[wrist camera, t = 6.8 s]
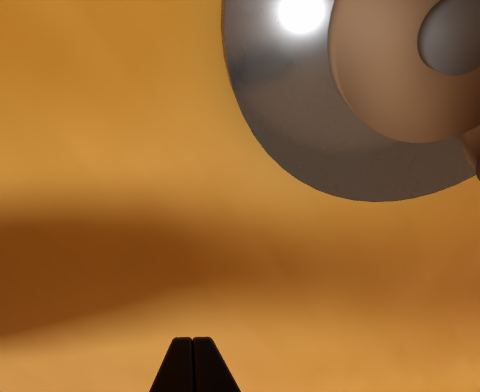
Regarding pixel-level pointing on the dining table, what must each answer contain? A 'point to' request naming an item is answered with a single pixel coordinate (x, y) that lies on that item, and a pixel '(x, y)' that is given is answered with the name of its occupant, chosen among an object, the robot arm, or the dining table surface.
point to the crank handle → (410, 68)
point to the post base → (320, 109)
